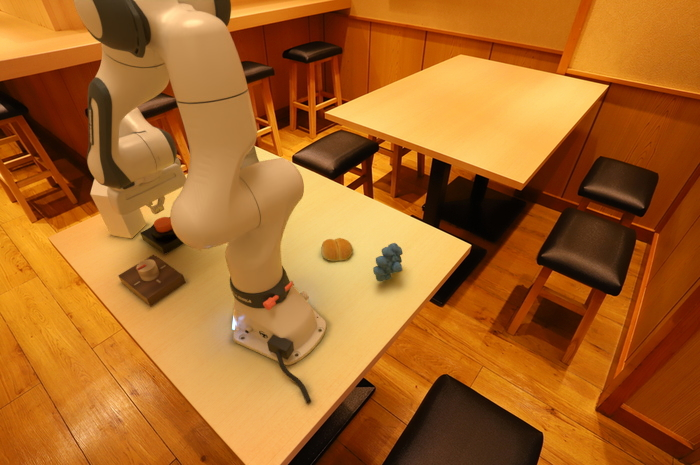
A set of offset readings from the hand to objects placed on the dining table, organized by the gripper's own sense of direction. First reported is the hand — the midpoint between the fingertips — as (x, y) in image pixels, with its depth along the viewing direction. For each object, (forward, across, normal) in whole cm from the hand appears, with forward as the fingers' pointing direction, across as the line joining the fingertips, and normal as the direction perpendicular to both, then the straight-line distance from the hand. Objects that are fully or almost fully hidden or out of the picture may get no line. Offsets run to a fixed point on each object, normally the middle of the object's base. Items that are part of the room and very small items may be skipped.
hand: (158, 211), depth 106 cm
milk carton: (+10, +5, -13) cm, 17 cm away
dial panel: (+10, +13, +13) cm, 21 cm away
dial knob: (+7, +13, +13) cm, 20 cm away
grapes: (+10, -25, +62) cm, 68 cm away
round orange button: (+6, 0, 0) cm, 6 cm away
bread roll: (+10, -25, +44) cm, 52 cm away
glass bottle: (+10, -22, +13) cm, 28 cm away
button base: (+10, 0, 0) cm, 10 cm away
